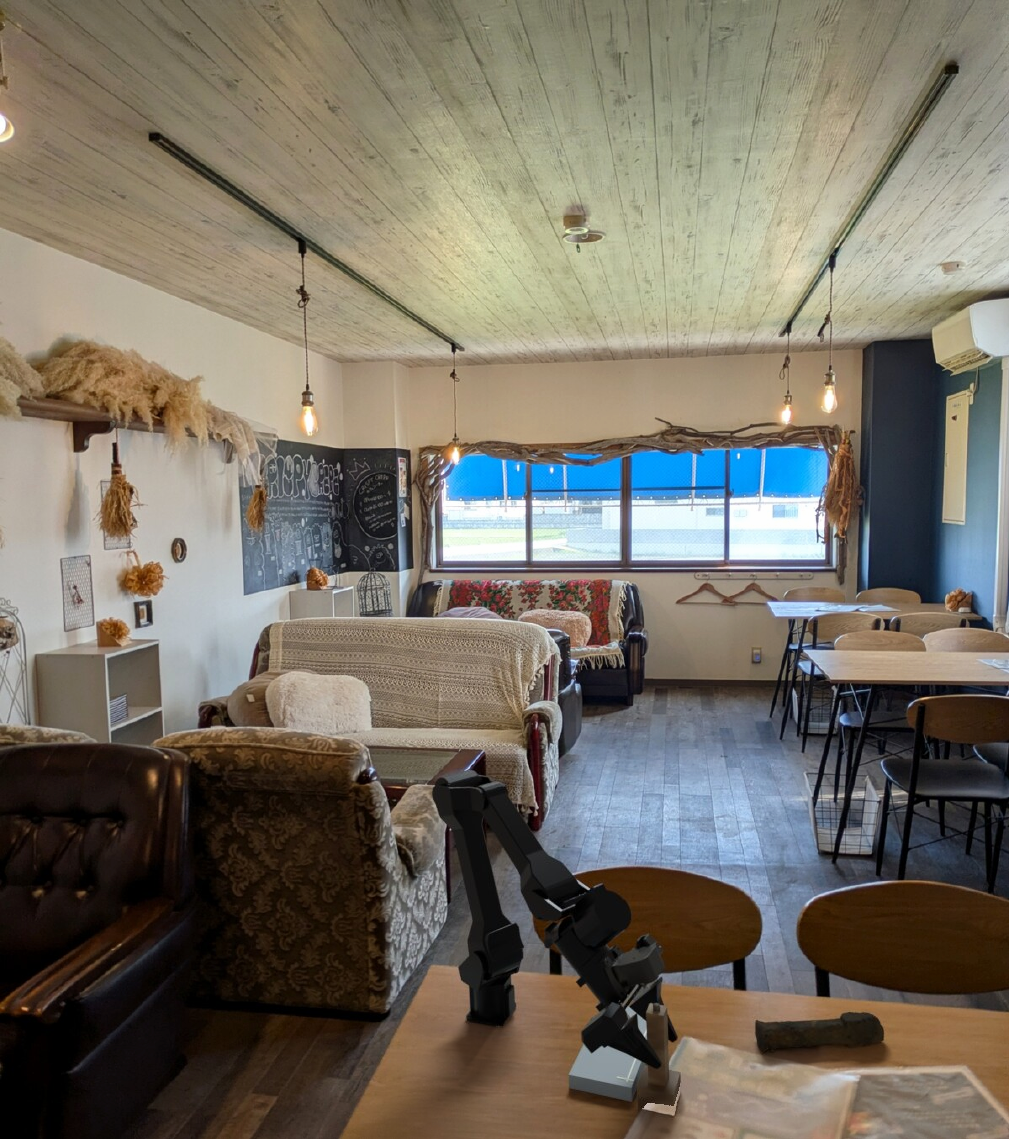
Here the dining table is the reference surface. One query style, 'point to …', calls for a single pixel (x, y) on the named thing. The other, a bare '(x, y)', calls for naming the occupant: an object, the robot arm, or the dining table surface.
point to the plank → (608, 1070)
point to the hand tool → (821, 1032)
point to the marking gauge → (661, 1081)
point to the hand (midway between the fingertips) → (667, 1053)
